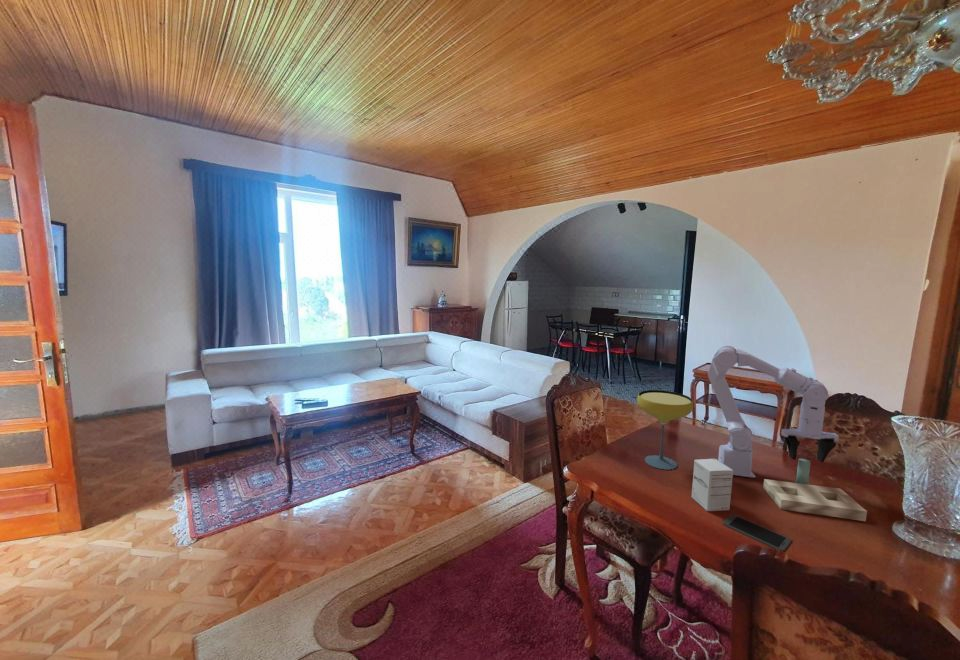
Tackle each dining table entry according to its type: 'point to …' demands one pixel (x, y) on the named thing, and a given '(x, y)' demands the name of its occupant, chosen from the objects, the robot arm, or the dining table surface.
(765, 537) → the cell phone
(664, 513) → the dining table surface
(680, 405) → the cocktail glass
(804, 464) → the peg
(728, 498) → the supplement box
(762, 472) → the dining table surface
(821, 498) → the hole block
